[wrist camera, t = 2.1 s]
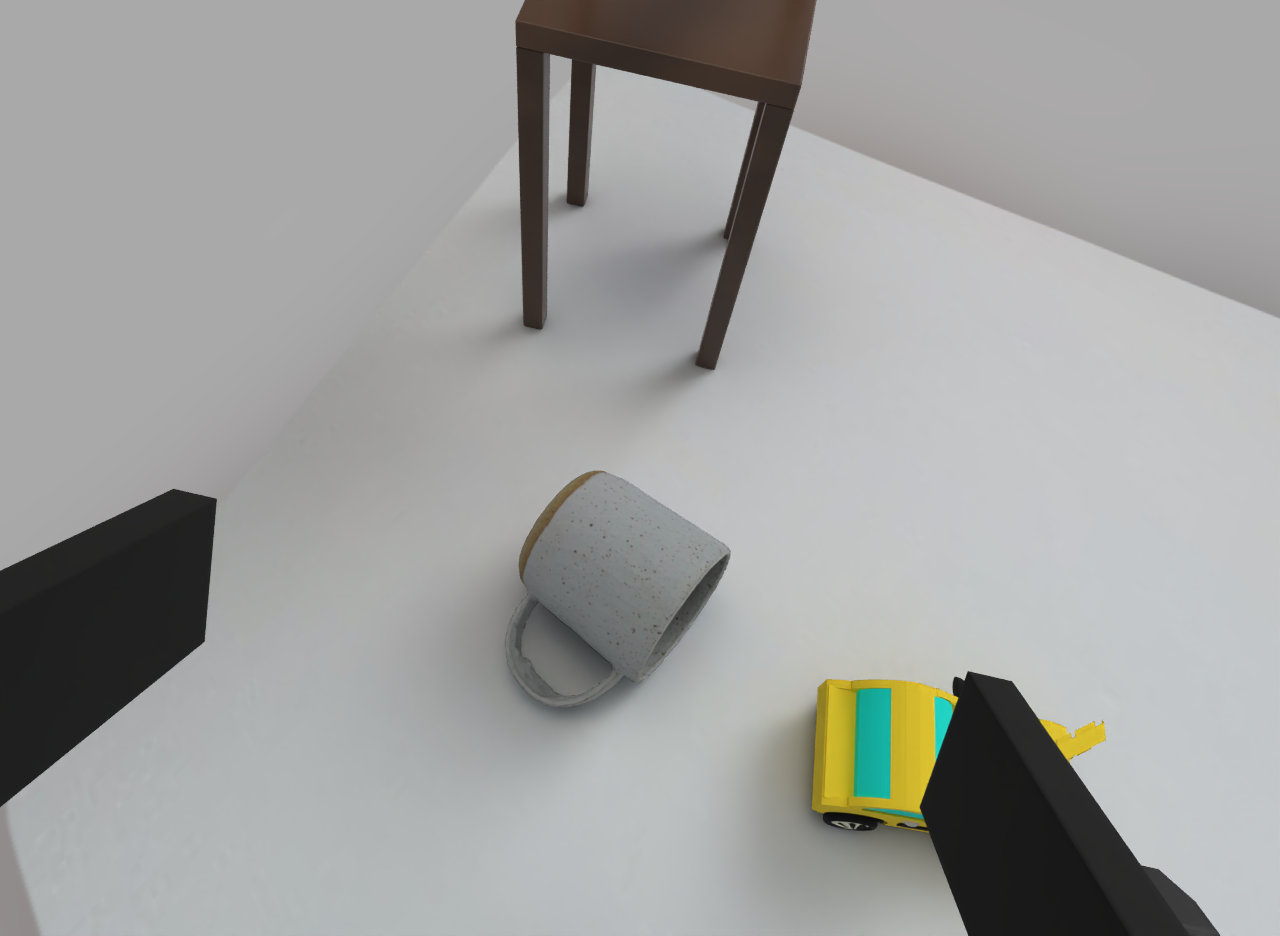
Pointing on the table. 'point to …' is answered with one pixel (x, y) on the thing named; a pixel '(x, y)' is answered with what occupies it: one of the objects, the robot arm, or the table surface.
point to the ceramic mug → (613, 579)
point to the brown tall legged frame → (673, 51)
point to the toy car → (891, 749)
